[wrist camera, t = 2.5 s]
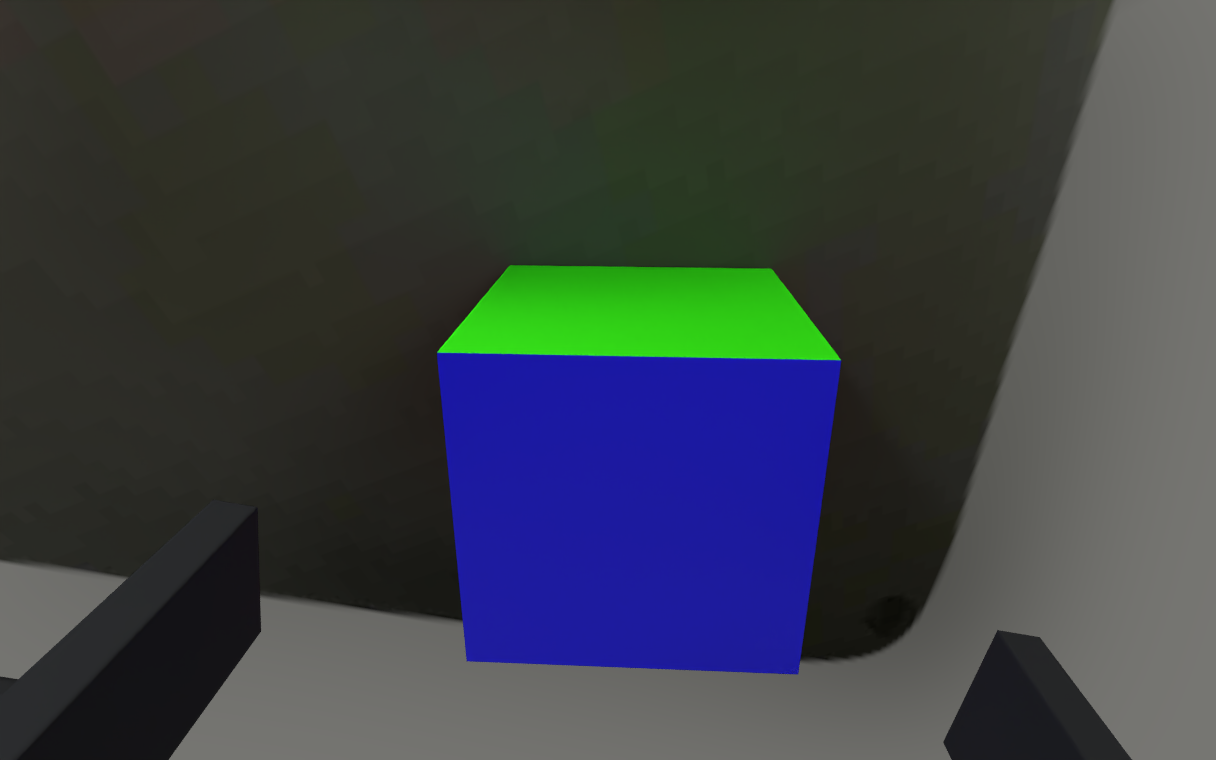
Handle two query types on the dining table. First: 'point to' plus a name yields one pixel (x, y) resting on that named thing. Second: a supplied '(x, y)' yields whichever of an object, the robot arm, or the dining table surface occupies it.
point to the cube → (637, 467)
